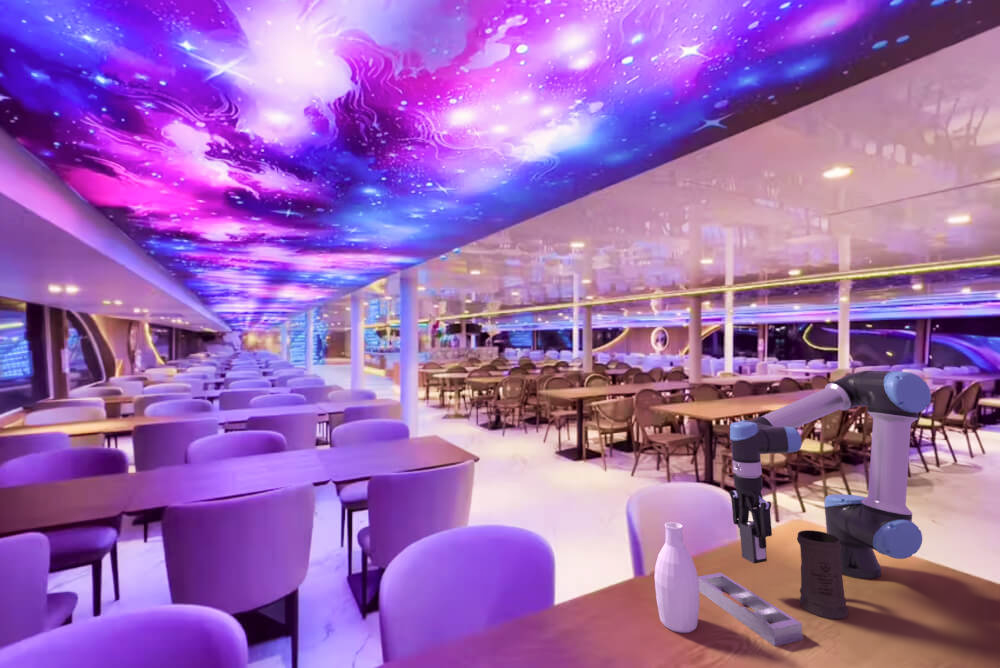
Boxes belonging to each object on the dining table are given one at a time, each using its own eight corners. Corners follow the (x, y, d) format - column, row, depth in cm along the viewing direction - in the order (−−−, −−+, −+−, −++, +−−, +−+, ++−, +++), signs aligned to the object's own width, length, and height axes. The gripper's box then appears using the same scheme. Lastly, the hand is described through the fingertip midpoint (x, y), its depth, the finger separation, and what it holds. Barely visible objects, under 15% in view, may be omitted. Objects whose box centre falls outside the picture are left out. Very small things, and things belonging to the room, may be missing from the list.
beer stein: (858, 622, 116) (850, 542, 119) (812, 619, 118) (805, 539, 121) (828, 596, 131) (821, 525, 134) (787, 593, 133) (781, 523, 136)
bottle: (680, 641, 111) (675, 536, 112) (647, 618, 120) (642, 522, 122) (711, 627, 116) (705, 527, 117) (676, 607, 126) (671, 515, 127)
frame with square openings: (721, 586, 136) (720, 571, 137) (802, 639, 110) (801, 621, 110) (697, 590, 134) (696, 575, 135) (774, 646, 108) (773, 627, 108)
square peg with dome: (754, 554, 135) (751, 519, 135) (766, 561, 130) (763, 524, 131) (742, 557, 134) (739, 521, 134) (754, 563, 129) (751, 526, 130)
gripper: (715, 469, 141) (721, 545, 140) (761, 483, 124) (768, 570, 123) (735, 467, 143) (741, 541, 142) (782, 480, 126) (790, 565, 125)
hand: (754, 554), depth 132 cm, fingers closed on square peg with dome, 4 cm apart
